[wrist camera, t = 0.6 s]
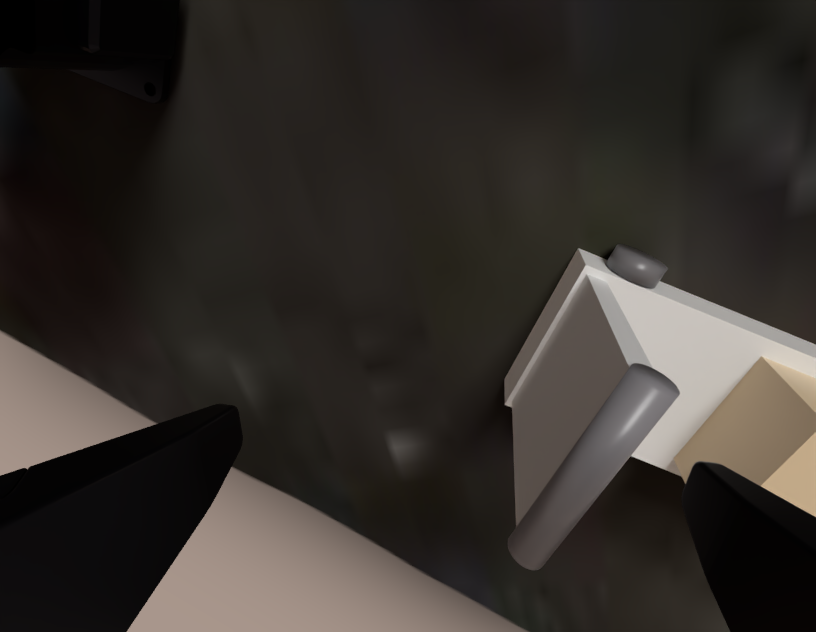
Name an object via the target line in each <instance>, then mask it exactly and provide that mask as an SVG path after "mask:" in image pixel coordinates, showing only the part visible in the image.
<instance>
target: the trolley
mask: <svg viewBox="0 0 816 632" xmlns="http://www.w3.org/2000/svg"><path fill="white" fill-rule="evenodd" d="M667 269H668V268H667V266H666V265H664V264H663V263H662V262H660V261H659V260H657V259H656V258H654V257H652V256H650V255H649V254H647V253H645V252H643V251H640V250H638V249H636V248H633V247H630V246H627V245H624V244H617V245H616V247H615V249H614V250H613V252H612V254H611V255H610V257H609V259H608V260H606V259H604V258H601V257H599V256H596V255H594V254H591V253H589V252H586V251H584V250H582V249H579V248H578V249H577V251H576V253H575V254H574V256H573V258H572V260H571V261H570V263H569V265H568V267H567V269H566V270H565V272H564V274H563V276H562V277H561V279H560V281H559V283H558V285H557V286H556V288H555V290H554V292H553V293H552V295H551V297H550V299H549V301H548V302H547V304H546V306H545V308H544V310H543V311H542V313H541V315H540V317H539V318H538V320H537V322H536V324H535V326H534V327H533V329H532V331H531V333H530V334H529V336H528V338H527V340H526V342H525V343H524V345H523V347H522V349H521V350H520V352H519V354H518V356H517V358H516V359H515V361H514V363H513V365H512V367H511V368H510V370H509V372H508V374H507V375H506V377H505V379H504V388H505V405H507V406H509V407H512V418H513V448H514V477H515V507H516V528H515V530H514V531H513V532H512V534H511V535H510V537H509V539H508V549H509V551H510V553H511V555H512V557H513V558H514V559H515V560H516V561H517V562H518V563H519V564H520V565H521V566H523V567H525V568H527V569H529V570H538V569H540V568H542V567H543V565H544V564H545V563H546V562H547V560H548V559H549V558H550V556H551V555H552V554H553V553H554V551H555V550H556V549H557V548H558V546H559V545H560V544H561V543H562V541H563V540H564V539H565V538H566V536H567V535H568V534H569V533H570V531H571V530H572V529H573V528H574V526H575V525H576V524H577V523H578V521H579V520H580V519H581V518H582V516H583V515H584V514H585V513H586V511H587V510H588V509H589V508H590V506H591V505H592V504H593V503H594V501H595V500H596V499H597V498H598V496H599V495H600V494H601V493H602V491H603V490H604V489H605V488H606V486H607V485H608V484H609V483H610V481H611V480H612V479H613V478H614V476H615V475H616V474H617V473H618V471H619V470H620V469H621V467H622V466H623V465H624V464H625V462H626V461H627V460H628V459H629V457H630V456H632V457H635V458H637V459H640V460H642V461H644V462H647V463H649V464H652V465H654V466H657V467H659V468H662V469H664V470H667V471H669V472H672V473H674V474H676V475H679V476H681V477H682V478H683V480H684V482H685V484H686V482H687V479H688V477H689V474H690V471H691V469H692V467H693V465H694V464H695V463H696V462H698V461H704V462H713V463H719V464H722V465H724V466H725V467H727V468H729V469H731V470H733V471H734V472H736V473H738V474H740V475H742V476H743V477H745V478H747V479H749V480H750V481H752V482H754V483H756V484H758V485H759V486H761V487H763V488H765V489H767V490H768V491H770V492H772V493H774V494H776V495H777V496H779V497H781V498H783V499H784V500H786V501H788V502H790V503H792V504H793V505H795V506H797V507H799V508H801V509H802V510H804V511H806V512H808V513H809V514H811V515H813V516H815V517H816V345H815V344H813V343H810V342H808V341H805V340H803V339H800V338H798V337H795V336H793V335H791V334H788V333H786V332H783V331H781V330H778V329H776V328H773V327H771V326H768V325H766V324H764V323H761V322H759V321H756V320H754V319H751V318H749V317H746V316H744V315H741V314H739V313H736V312H734V311H732V310H729V309H727V308H724V307H722V306H719V305H717V304H714V303H712V302H709V301H707V300H705V299H702V298H700V297H697V296H695V295H692V294H690V293H687V292H685V291H682V290H680V289H677V288H675V287H673V286H670V285H668V284H665V283H663V282H660V280H661V278H662V277H663V275H664V274H665V272H666V271H667Z"/></svg>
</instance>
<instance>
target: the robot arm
mask: <svg viewBox="0 0 816 632" xmlns="http://www.w3.org/2000/svg"><path fill="white" fill-rule="evenodd" d="M178 9H179V0H0V67H12V68H41V69H67V70H70V71H72V72H75V73H77V74H80V75H82V76H85V77H87V78H90V79H92V80H95V81H97V82H100V83H102V84H105V85H107V86H110V87H112V88H115V89H117V90H120V91H122V92H125V93H127V94H130V95H132V96H135V97H137V98H140V99H142V100H145V101H147V102H150V103H161V102H164V101H165V100H166V99H167V96H168V89H169V78H170V68H171V57H172V56H173V55H174V50H175V40H176V29H177V19H178ZM151 84H153V85H154V86H155V88H156V94H155V95H154V94H153V93H152V91H151ZM242 441H243V435H242V429H241V423H240V417H239V412H238V409H237V408H236V407H235V406H233V405H225V404H215V405H212V406H209V407H206V408H203V409H200V410H197V411H195V412H192V413H189V414H186V415H183V416H180V417H177V418H174V419H171V420H168V421H165V422H162V423H159V424H156V425H153V426H150V427H147V428H144V429H141V430H138V431H135V432H132V433H129V434H126V435H123V436H120V437H117V438H114V439H111V440H108V441H105V442H102V443H99V444H96V445H93V446H90V447H87V448H84V449H82V450H78V451H76V452H72V453H69V454H66V455H63V456H60V457H57V458H54V459H51V460H48V461H45V462H42V463H40V464H37V465H34V466H31V467H29V468H28V470H27V469H26V468H22V469H19V470H16V471H13V472H10V473H8V474H4V475H1V476H0V632H127V630H128V629H129V627H130V626H131V624H132V623H133V621H134V620H135V618H136V617H137V615H138V614H139V612H140V611H141V609H142V608H143V606H144V605H145V603H146V602H147V600H148V599H149V597H150V596H151V594H152V593H153V591H154V590H155V588H156V587H157V586H158V584H159V583H160V581H161V579H162V578H163V577H164V575H165V574H166V572H167V571H168V569H169V568H170V566H171V565H172V563H173V562H174V560H175V559H176V557H177V556H178V554H179V552H180V551H181V550H182V548H183V547H184V545H185V544H186V542H187V541H188V539H189V538H190V536H191V535H192V533H193V532H194V530H195V529H196V527H197V526H198V524H199V523H200V521H201V520H202V519H203V517H204V516H205V514H206V512H207V510H208V509H209V508H210V506H211V504H212V502H213V501H214V499H215V497H216V495H217V494H218V492H219V490H220V488H221V486H222V484H223V482H224V480H225V478H226V476H227V474H228V472H229V470H230V469H231V467H232V465H233V463H234V461H235V459H236V457H237V455H238V453H239V451H240V449H241V446H242ZM682 507H683V510H684V514H685V517H686V520H687V523H688V526H689V529H690V532H691V535H692V538H693V541H694V544H695V547H696V550H697V553H698V556H699V559H700V562H701V565H702V568H703V571H704V574H705V576H706V579H707V581H708V584H709V586H710V588H711V591H712V593H713V595H714V597H715V599H716V601H717V604H718V606H719V608H720V610H721V612H722V615H723V617H724V619H725V621H726V623H727V626H728V628H729V630H730V632H816V517H815V516H813V515H811V514H809V513H808V512H806V511H804V510H802V509H801V508H799V507H797V506H795V505H793V504H792V503H790V502H788V501H786V500H784V499H783V498H781V497H779V496H777V495H776V494H774V493H772V492H770V491H768V490H767V489H765V488H763V487H761V486H759V485H758V484H756V483H754V482H752V481H750V480H749V479H747V478H745V477H743V476H742V475H740V474H738V473H736V472H734V471H733V470H731V469H729V468H727V467H725V466H724V465H722V464H719V463H713V462H704V461H698V462H696V463H695V464H694V465H693V467H692V469H691V471H690V474H689V477H688V479H687V482H686V484H685V487H684V489H683V492H682Z"/></svg>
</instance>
